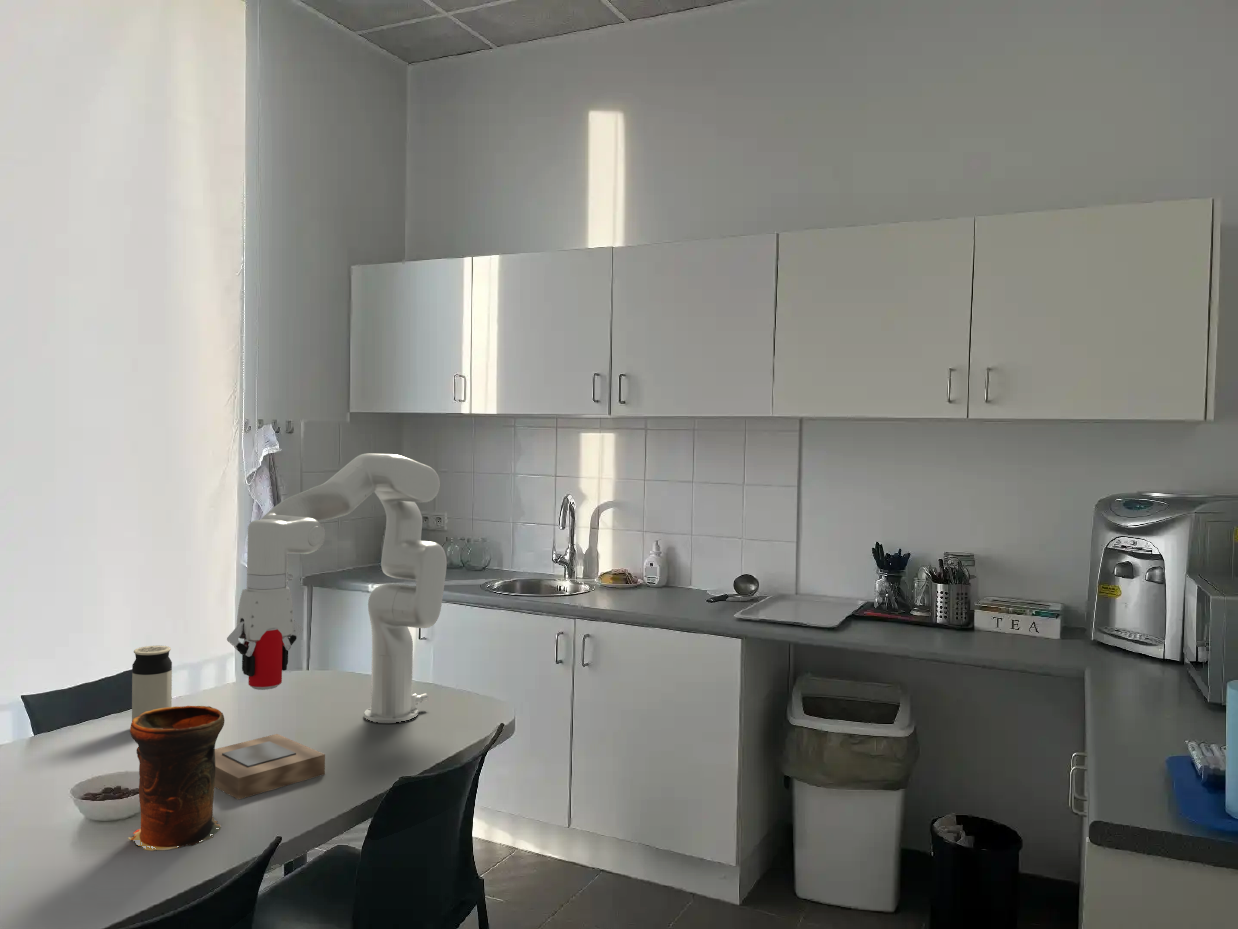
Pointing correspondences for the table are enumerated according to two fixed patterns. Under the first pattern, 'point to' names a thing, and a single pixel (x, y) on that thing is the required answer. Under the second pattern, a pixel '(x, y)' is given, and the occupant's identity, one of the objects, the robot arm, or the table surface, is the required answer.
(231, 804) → the table surface
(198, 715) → the vessel
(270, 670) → the beverage can
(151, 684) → the travel mug
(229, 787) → the walnut plinth
